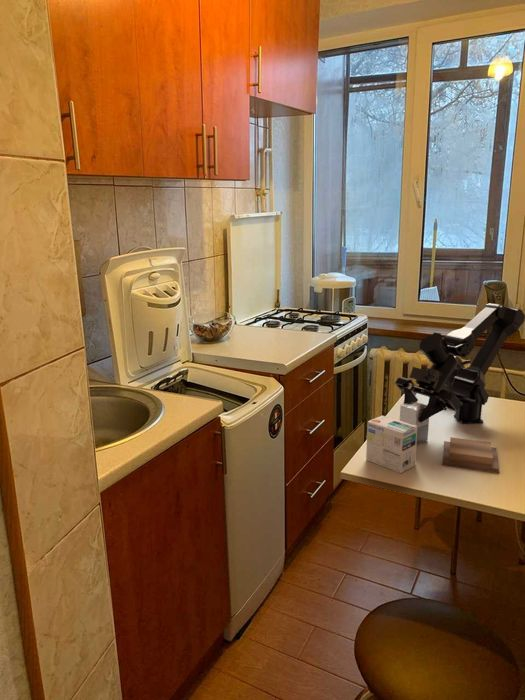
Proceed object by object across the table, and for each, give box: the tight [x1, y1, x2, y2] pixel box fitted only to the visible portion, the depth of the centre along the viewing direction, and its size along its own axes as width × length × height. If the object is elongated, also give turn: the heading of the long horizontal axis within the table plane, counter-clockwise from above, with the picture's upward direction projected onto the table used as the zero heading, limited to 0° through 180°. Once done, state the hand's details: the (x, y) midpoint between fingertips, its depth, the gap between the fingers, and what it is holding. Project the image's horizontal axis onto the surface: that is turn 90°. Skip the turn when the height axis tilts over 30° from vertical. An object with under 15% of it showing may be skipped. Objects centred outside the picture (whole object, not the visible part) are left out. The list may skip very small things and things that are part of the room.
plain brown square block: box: [399, 401, 430, 446], centre depth 149 cm, size 6×6×10 cm
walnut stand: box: [441, 437, 500, 474], centre depth 138 cm, size 13×13×3 cm
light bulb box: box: [365, 415, 418, 474], centre depth 135 cm, size 11×7×11 cm, turn 43°
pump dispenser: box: [442, 355, 472, 392], centre depth 179 cm, size 10×10×15 cm
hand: (411, 418), depth 147 cm, fingers closed on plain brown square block, 5 cm apart
